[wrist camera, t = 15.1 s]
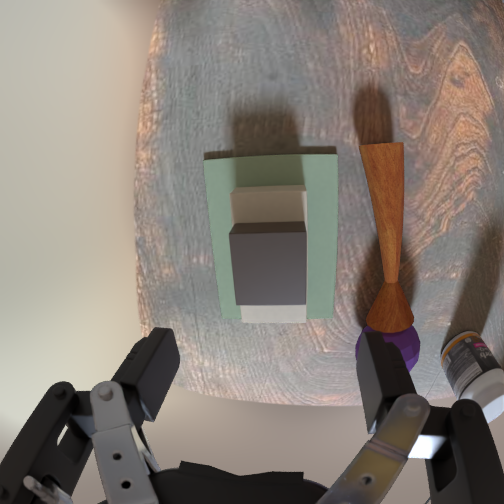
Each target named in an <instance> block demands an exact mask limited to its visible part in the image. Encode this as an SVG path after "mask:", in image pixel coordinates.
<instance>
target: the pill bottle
mask: <svg viewBox="0 0 504 504" xmlns="http://www.w3.org/2000/svg"><path fill="white" fill-rule="evenodd" d="M440 362H441V366H442V368H443V370H444V372H445V375H446V377H447V379H448V381H449V383H450V385H451V387H452V389H453V391H454V394H455V396H456V398H457V401H458V400H460V399H471V400H474V401H475V402H477V403H478V404H479V405H480V406H481V408H482V410H483V413H484V416H485V418H486V421H487V423H489V422H490V421H492V420H494V419H495V418H496V417H497V416H499V415H500V414H501V413H502V412H503V411H504V371H503V370H502V368H501V366H500V365H499V363H498V362H497V360H496V359H495V357H494V356H493V354H492V353H491V351H490V350H489V349H488V347H487V346H486V344H485V343H484V341H483V340H482V338H481V337H480V336H479V335H478V334H477V333H476V332H474V331H466V332H463V333H460V334H459V335H457V336H455V337H454V338H453V339H452V340H451V341H450V342H449V343H448V344H447V345H446V347H445V348H444V350H443V352H442V354H441V359H440Z"/></svg>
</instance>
